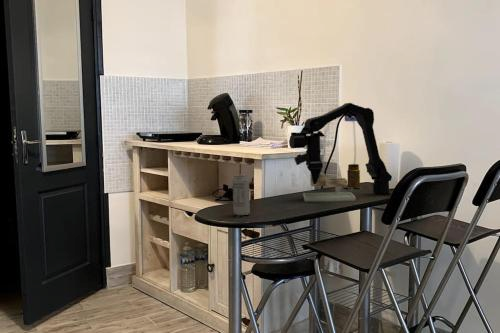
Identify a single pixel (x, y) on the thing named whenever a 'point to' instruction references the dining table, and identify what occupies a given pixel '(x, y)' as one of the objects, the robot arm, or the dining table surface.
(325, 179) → the wooden block frame
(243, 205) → the energy drink can
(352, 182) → the condiment
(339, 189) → the cylinder
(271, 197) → the dining table surface
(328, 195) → the tray
